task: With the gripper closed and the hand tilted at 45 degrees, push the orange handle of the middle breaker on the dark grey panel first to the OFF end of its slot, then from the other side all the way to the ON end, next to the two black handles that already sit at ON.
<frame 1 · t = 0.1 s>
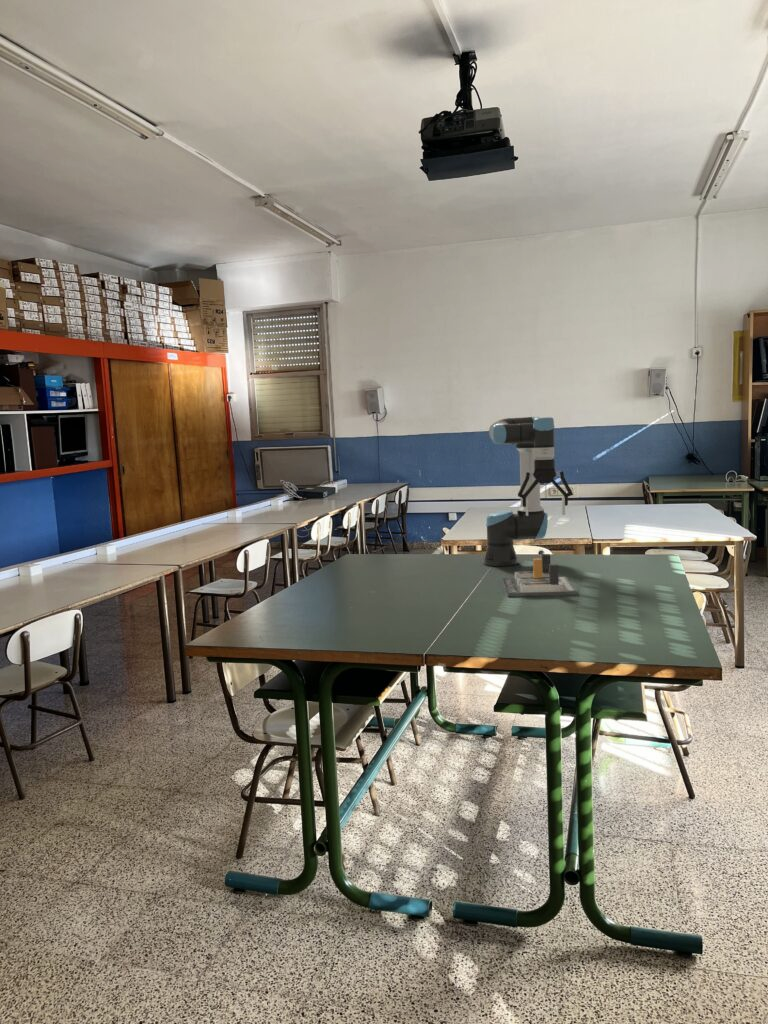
hand: (545, 514, 284), 28 cm above the table, tool pointing down, fingers open, 13 cm apart
breaker panel: (538, 588, 285), on the table
tripped breaker handle: (537, 568, 284), point 8 cm above the table, slide at 0.0 cm
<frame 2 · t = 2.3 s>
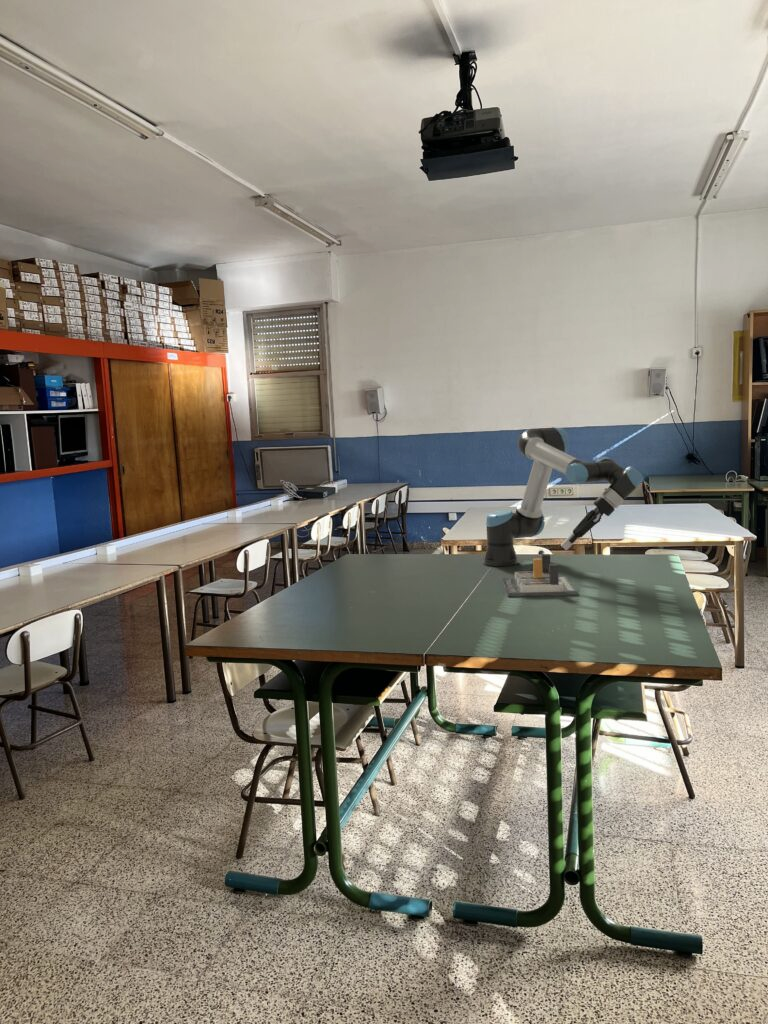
hand: (563, 547, 282), 15 cm above the table, tool tilted 45°, fingers closed
nothing on the table moved.
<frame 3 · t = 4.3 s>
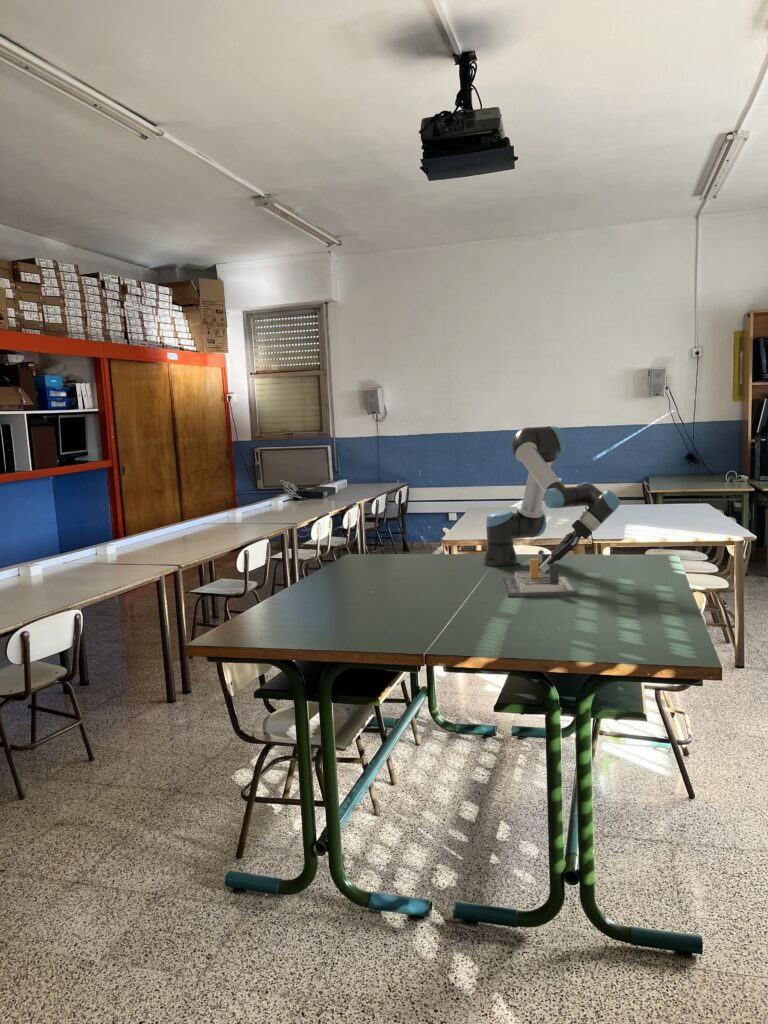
hand: (541, 570, 284), 7 cm above the table, tool tilted 45°, fingers closed
tripped breaker handle: (534, 568, 284), point 8 cm above the table, slide at -1.3 cm, touching gripper
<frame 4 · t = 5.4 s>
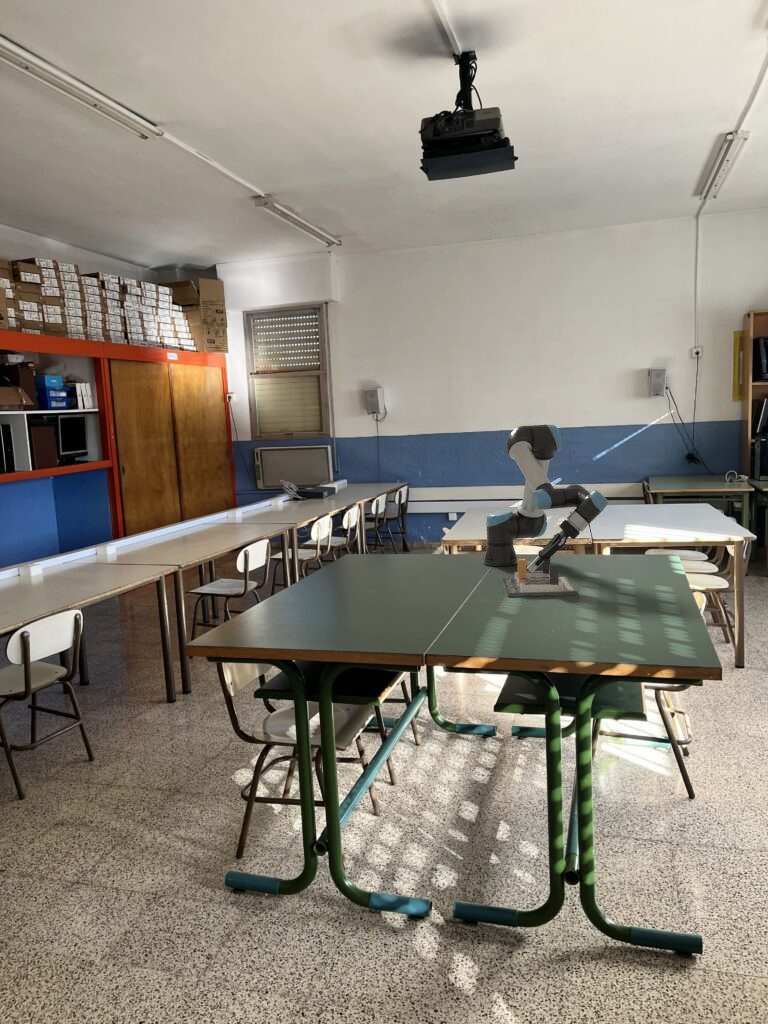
hand: (529, 570, 285), 7 cm above the table, tool tilted 45°, fingers closed
tripped breaker handle: (522, 568, 285), point 8 cm above the table, slide at -5.9 cm, touching gripper
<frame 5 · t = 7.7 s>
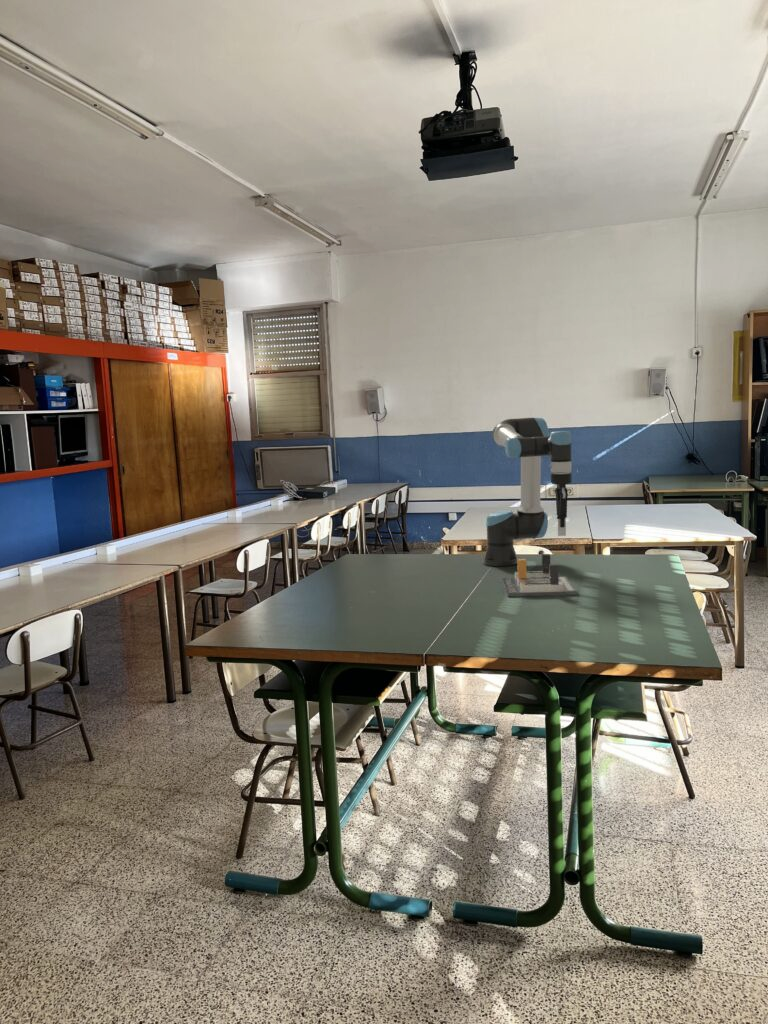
hand: (561, 535, 282), 20 cm above the table, tool pointing down, fingers closed
tripped breaker handle: (521, 568, 285), point 8 cm above the table, slide at -5.9 cm
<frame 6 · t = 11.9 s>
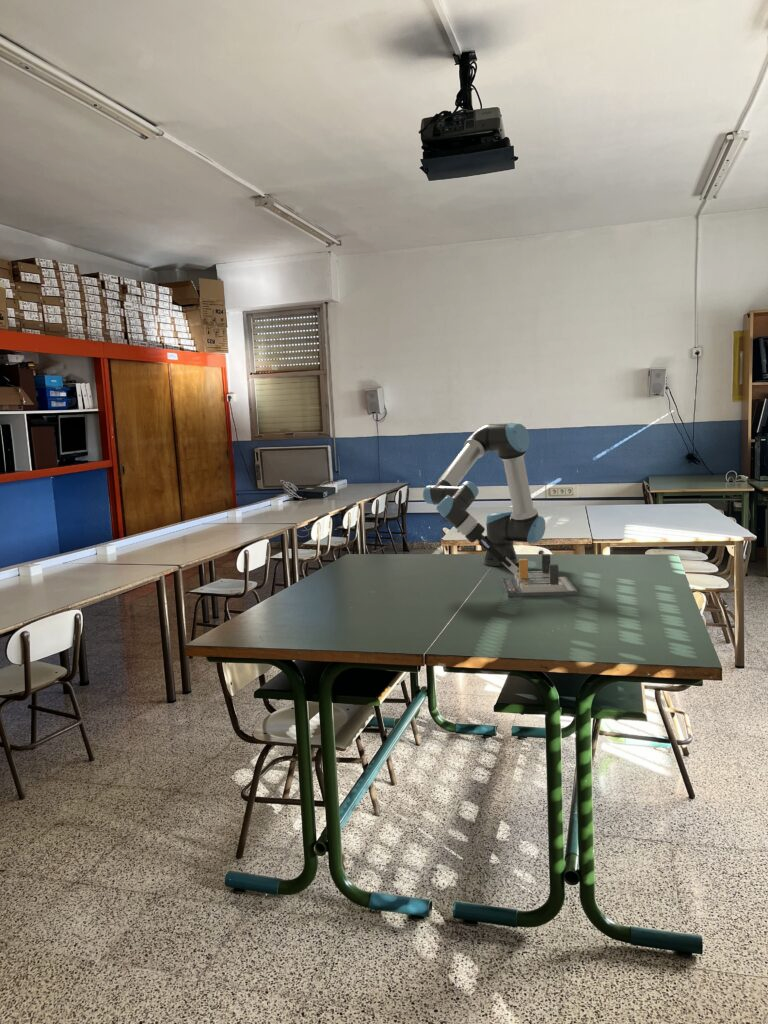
hand: (516, 571, 284), 7 cm above the table, tool tilted 45°, fingers closed
tripped breaker handle: (523, 568, 285), point 8 cm above the table, slide at -5.3 cm, touching gripper
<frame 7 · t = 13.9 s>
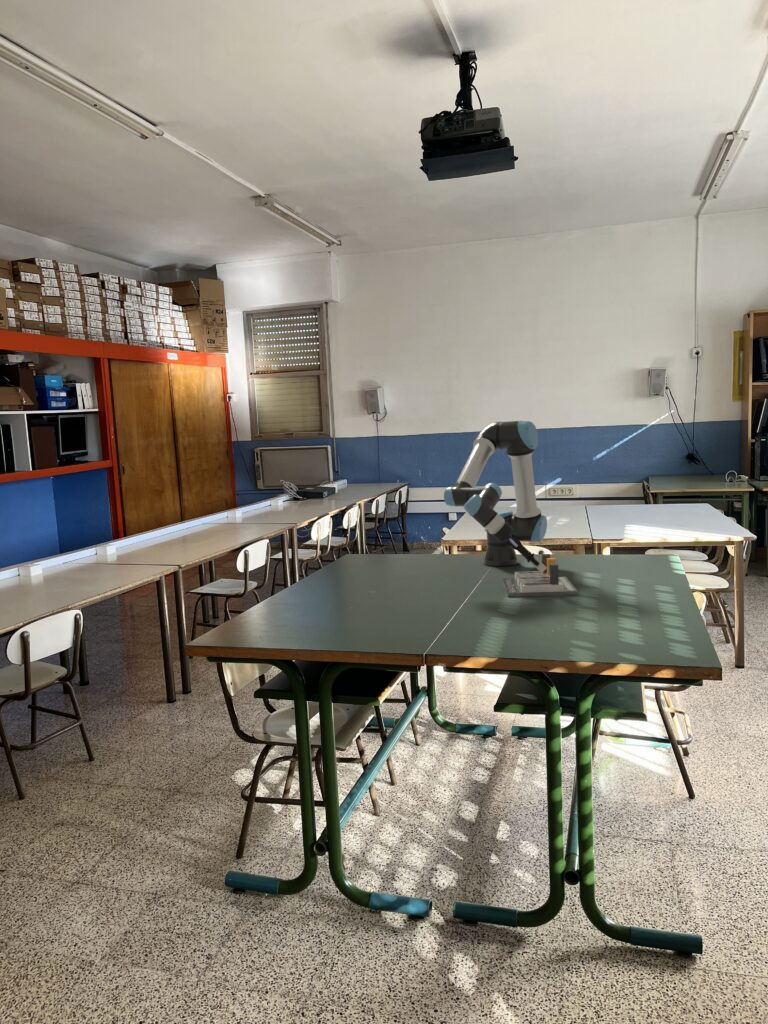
hand: (544, 570, 284), 7 cm above the table, tool tilted 45°, fingers closed
tripped breaker handle: (551, 567, 284), point 8 cm above the table, slide at 5.1 cm, touching gripper
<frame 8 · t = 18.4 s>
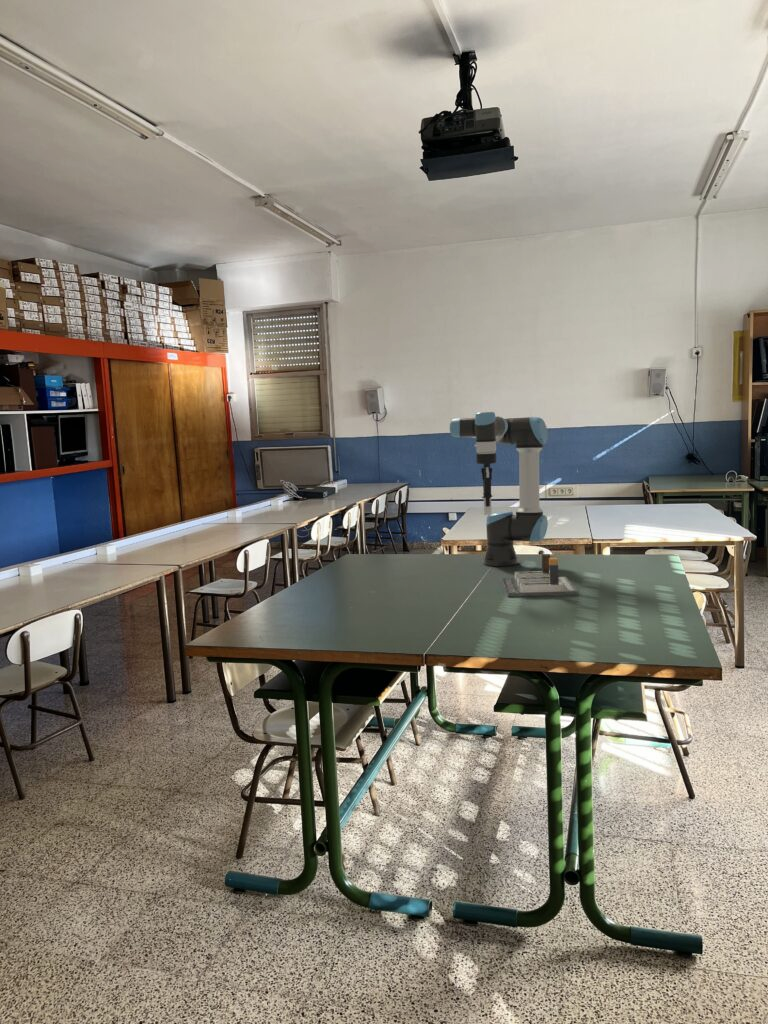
hand: (487, 514, 287), 28 cm above the table, tool pointing down, fingers closed
tripped breaker handle: (553, 567, 284), point 8 cm above the table, slide at 5.9 cm
at the end: tripped breaker handle slide at 5.9 cm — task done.
